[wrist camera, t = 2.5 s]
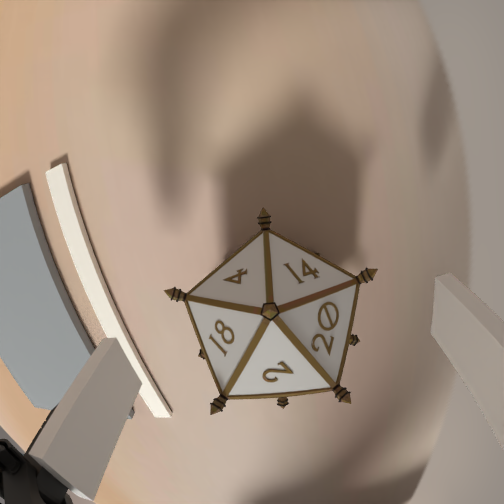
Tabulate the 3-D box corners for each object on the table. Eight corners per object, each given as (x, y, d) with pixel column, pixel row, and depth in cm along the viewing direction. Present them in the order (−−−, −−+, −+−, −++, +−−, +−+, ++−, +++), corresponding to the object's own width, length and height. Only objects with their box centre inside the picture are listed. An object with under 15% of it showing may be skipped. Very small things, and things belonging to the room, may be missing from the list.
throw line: (172, 413, 21) (171, 417, 21) (156, 413, 21) (155, 417, 21) (66, 162, 15) (61, 163, 14) (50, 171, 15) (45, 172, 14)
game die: (256, 234, 20) (230, 136, 10) (372, 298, 18) (450, 248, 8) (182, 351, 18) (87, 351, 8) (299, 422, 16) (311, 500, 6)
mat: (134, 412, 22) (131, 419, 21) (38, 402, 23) (34, 407, 22) (28, 182, 15) (21, 184, 14) (-47, 234, 17) (-53, 236, 16)
